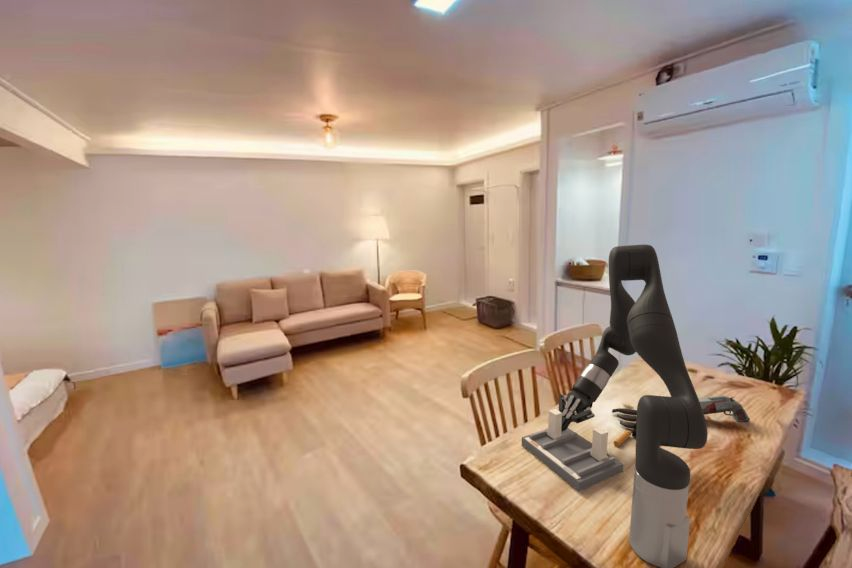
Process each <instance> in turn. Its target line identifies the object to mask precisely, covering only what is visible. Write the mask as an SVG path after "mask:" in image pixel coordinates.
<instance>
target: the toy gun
mask: <svg viewBox="0 0 852 568" xmlns="http://www.w3.org/2000/svg"><path fill="white" fill-rule="evenodd" d="M734 398H735V397H734V396H731V397H729V396H727V395H723V394H721V395H710V396H707V397H698V399H699V402H700V404H701V407H702V410H703V413H704V416H705V415H712V414H719V413H723V414H724V415H725V416H729V417H730V416H731V417H732V419H734V421H736V422H738V423H739V422H740V423H748V422H749V421H750V420H751V419H750V416H749V415H748V413H747V411H746V410H745V409H744V407H743V405H742V404H741V403H740V402H738V401H736V400H735V399H734ZM727 412H728V413H727Z"/></svg>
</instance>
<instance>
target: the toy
mask: <svg viewBox="0 0 852 568" xmlns="http://www.w3.org/2000/svg"><path fill="white" fill-rule="evenodd" d="M611 413H614V414H615V413H616V417H617V418H619V419H620V421H619V424H620V425H621V426H623V427H625V428H627V429H631V430H632V431H630V430H625V431H624V432H623V433H622V434H621V435H620V436H619V437H617V438H616V439H615V440H614V441H613V445H614V446H615V447H620V446H621V445H622V444H623V443H625V441H626V440H627V439H629V438H630V436H632V437H634V438H636V417H637V409H631V408H620V407H619V408H614V409H612V411H611ZM618 413H620V414H618ZM621 414H624V415H621ZM635 416H636V417H635ZM623 421H625V422H623Z"/></svg>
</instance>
